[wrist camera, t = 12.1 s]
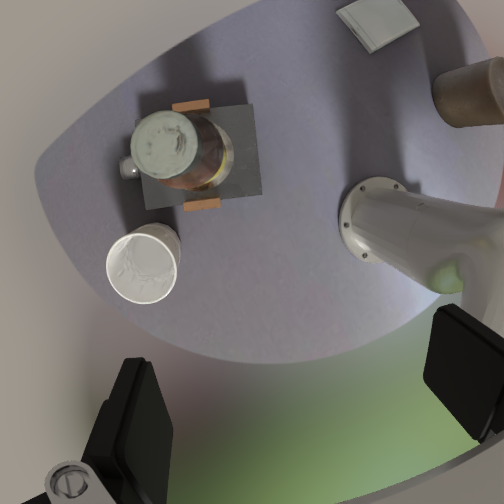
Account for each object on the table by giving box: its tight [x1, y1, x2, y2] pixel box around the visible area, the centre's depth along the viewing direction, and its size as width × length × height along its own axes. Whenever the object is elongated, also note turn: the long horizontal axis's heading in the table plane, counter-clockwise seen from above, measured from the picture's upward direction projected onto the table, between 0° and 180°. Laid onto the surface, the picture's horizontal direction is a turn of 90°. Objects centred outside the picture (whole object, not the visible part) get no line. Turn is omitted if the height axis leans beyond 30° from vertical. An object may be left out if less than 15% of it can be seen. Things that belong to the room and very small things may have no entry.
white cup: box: [106, 222, 181, 304], centre depth 38 cm, size 8×8×10 cm
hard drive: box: [336, 0, 420, 54], centre depth 36 cm, size 2×8×12 cm
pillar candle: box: [432, 57, 504, 128], centre depth 34 cm, size 10×10×15 cm
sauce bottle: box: [130, 110, 227, 189], centre depth 26 cm, size 7×6×20 cm
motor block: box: [119, 99, 262, 212], centre depth 36 cm, size 17×12×7 cm
